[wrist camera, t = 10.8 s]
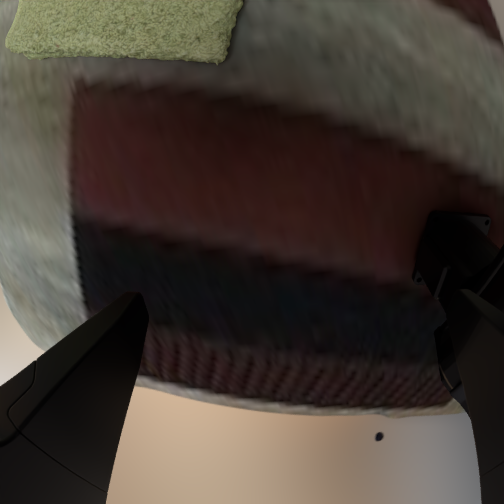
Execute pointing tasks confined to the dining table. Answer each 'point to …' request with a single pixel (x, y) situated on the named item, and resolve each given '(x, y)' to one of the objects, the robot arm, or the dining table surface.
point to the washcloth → (124, 29)
